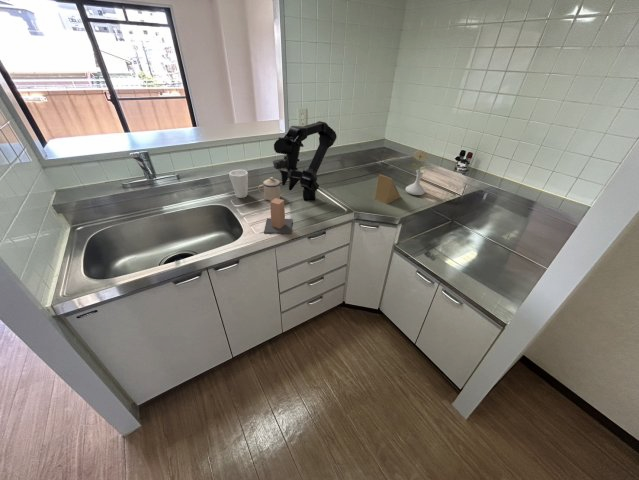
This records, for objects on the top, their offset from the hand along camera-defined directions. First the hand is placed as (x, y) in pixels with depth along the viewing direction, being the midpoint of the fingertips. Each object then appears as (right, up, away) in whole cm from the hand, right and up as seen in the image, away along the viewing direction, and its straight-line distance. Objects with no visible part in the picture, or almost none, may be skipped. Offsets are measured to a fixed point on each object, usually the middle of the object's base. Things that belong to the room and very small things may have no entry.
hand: (286, 187), depth 128 cm
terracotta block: (-3, -19, -7) cm, 20 cm away
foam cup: (-27, -1, +18) cm, 33 cm away
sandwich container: (+56, -1, +24) cm, 61 cm away
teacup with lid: (-11, -2, +17) cm, 21 cm away
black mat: (-3, -19, -7) cm, 21 cm away
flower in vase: (+74, +3, +32) cm, 81 cm away
